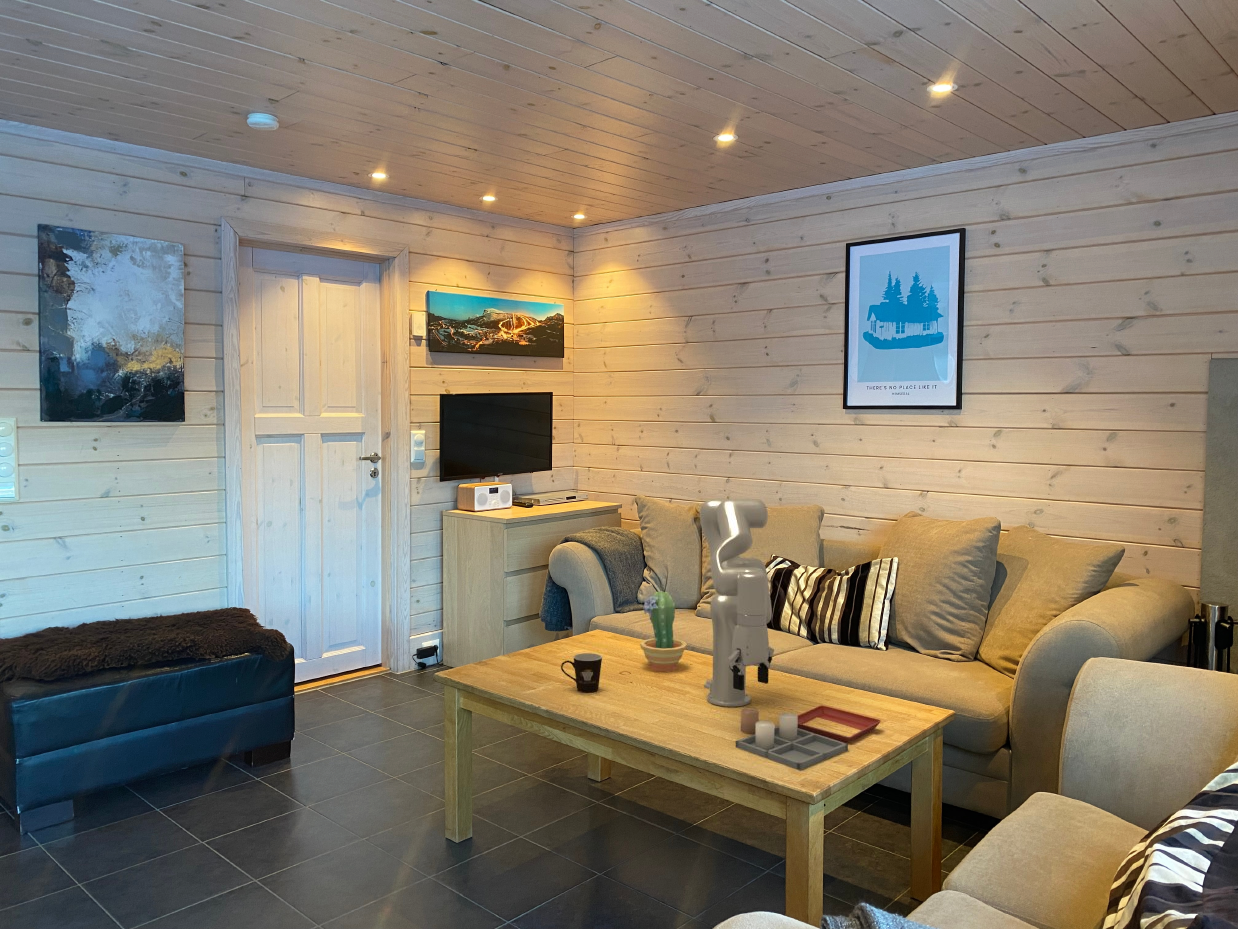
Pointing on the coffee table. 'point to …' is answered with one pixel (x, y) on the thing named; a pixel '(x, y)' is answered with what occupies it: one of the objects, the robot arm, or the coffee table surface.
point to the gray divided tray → (796, 749)
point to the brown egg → (749, 720)
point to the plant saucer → (838, 717)
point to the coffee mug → (586, 671)
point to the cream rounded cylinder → (788, 726)
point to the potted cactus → (662, 634)
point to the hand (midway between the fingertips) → (750, 686)
